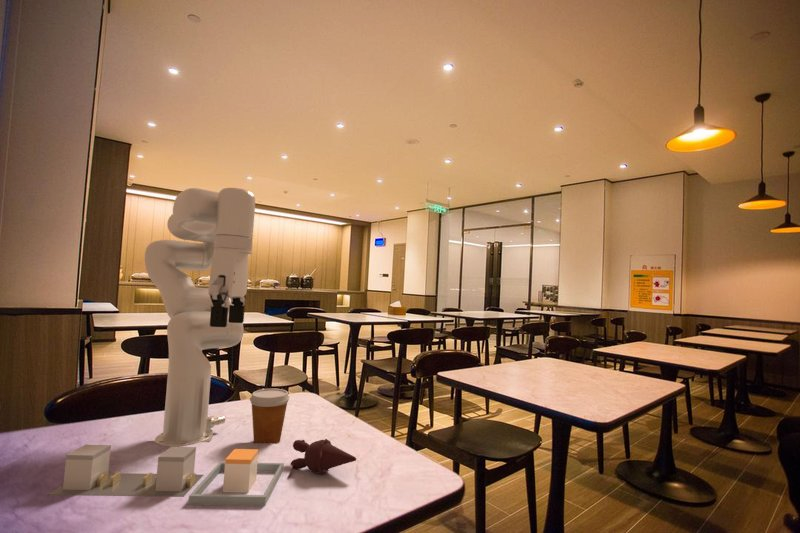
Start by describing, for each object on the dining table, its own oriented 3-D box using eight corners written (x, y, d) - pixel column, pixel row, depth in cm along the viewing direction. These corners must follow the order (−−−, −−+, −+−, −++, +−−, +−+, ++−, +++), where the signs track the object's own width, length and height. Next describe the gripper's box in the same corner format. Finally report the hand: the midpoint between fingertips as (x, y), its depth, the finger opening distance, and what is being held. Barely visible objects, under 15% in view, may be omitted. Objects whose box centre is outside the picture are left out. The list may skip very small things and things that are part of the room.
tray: (218, 473, 78) (219, 461, 78) (283, 475, 79) (283, 463, 79) (187, 510, 65) (189, 495, 65) (264, 511, 66) (265, 497, 66)
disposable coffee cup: (263, 452, 89) (267, 400, 90) (238, 442, 94) (242, 393, 95) (294, 440, 97) (297, 392, 98) (270, 431, 102) (273, 386, 103)
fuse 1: (82, 476, 73) (85, 444, 73) (107, 477, 73) (110, 445, 73) (62, 489, 68) (66, 455, 69) (89, 489, 68) (93, 455, 69)
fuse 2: (169, 478, 74) (171, 446, 74) (193, 478, 74) (196, 447, 74) (155, 490, 69) (158, 456, 70) (181, 491, 69) (184, 457, 70)
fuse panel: (82, 477, 74) (83, 464, 74) (203, 479, 76) (204, 466, 76) (47, 500, 66) (48, 484, 66) (183, 502, 68) (184, 487, 68)
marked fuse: (232, 480, 74) (234, 448, 75) (256, 480, 75) (258, 449, 75) (222, 492, 70) (225, 459, 70) (248, 493, 70) (250, 459, 70)
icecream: (363, 439, 84) (302, 435, 88) (350, 442, 77) (284, 438, 81) (361, 474, 82) (298, 469, 86) (348, 481, 75) (280, 474, 79)
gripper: (231, 249, 92) (225, 320, 90) (197, 239, 74) (190, 328, 73) (262, 250, 92) (257, 322, 91) (236, 241, 75) (230, 329, 74)
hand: (227, 324), depth 82 cm, fingers open, 9 cm apart
